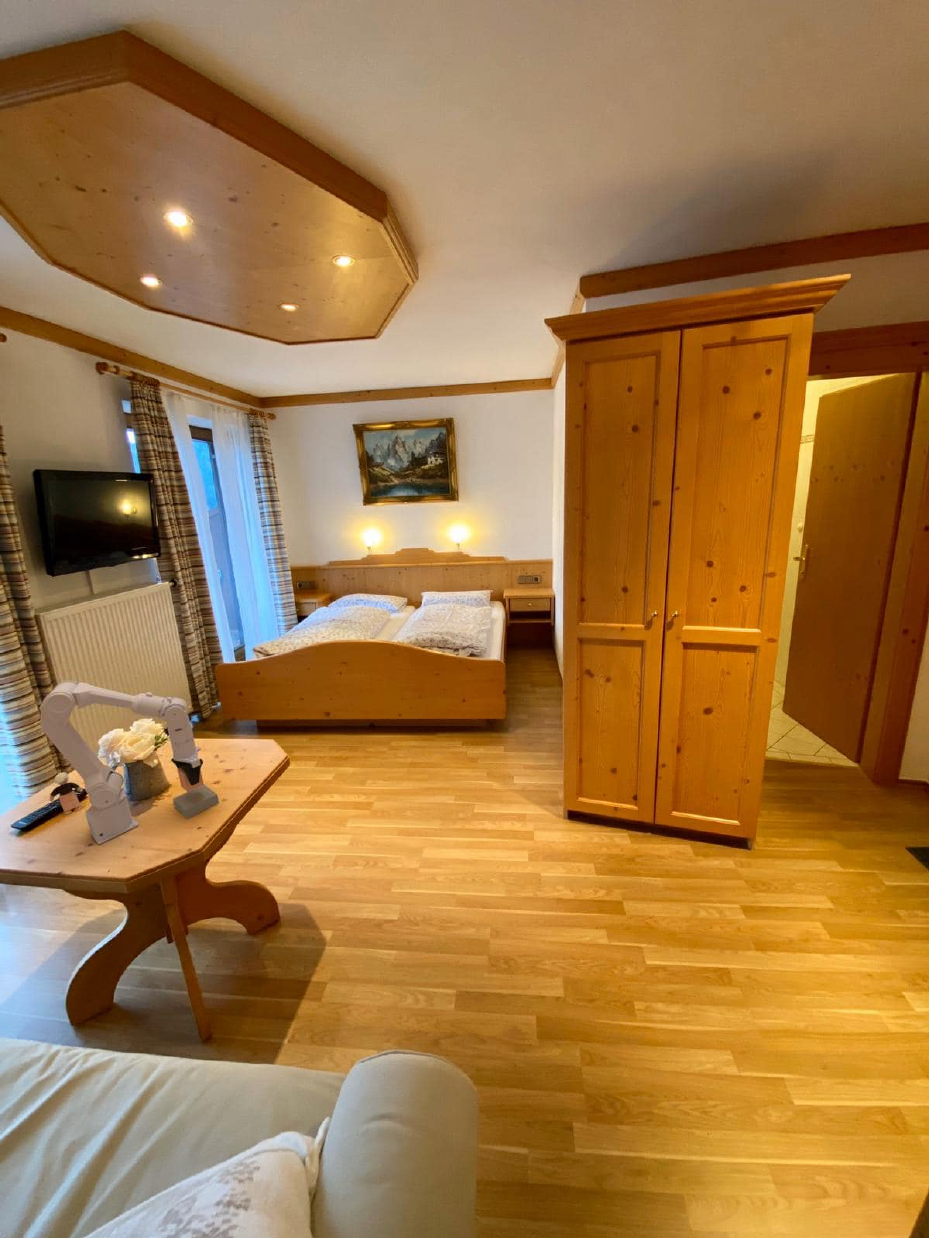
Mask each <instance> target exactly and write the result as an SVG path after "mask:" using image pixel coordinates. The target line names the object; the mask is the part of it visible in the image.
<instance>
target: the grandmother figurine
mask: <svg viewBox="0 0 929 1238" xmlns="http://www.w3.org/2000/svg"><path fill="white" fill-rule="evenodd" d="M53 781H54V784H57V786H56V787H55V788H54V789H52V791H51V793H50V794H49V795H50V796H49V802H53V801H54V800H55V797H56V796H58V795H59V801H60V804H61V807H62V809H63V813H64V815H70V814H71V813H72V812H73V810H74V812H78V811H80V810H81V809H82V808H83V806H84V805H83V804H81V803H80V801H79V798H78V796H77V793H76V792H75V790H77V791H78V792H79V793H82V792H83V791H84V789H83V788H82V787H81V786H80V785H79V784H78V783H74V782H72V781H71V782H69V775H68V773H67V772H66V771H64V772H59V773H58V774H57V775H55V777H54V780H53Z"/></svg>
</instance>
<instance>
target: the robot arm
mask: <svg viewBox="0 0 929 1238" xmlns="http://www.w3.org/2000/svg"><path fill="white" fill-rule="evenodd" d="M93 704H94V705H95V704H97V705H104V706H105V705H106V706H111V707H119V708H125V709H127V708H128V709H129V710H131V712H132V714H134V715H140V716H144V717H145V716H146V717H150V718H151V717H152V718H156V719H163V721H164V722H165V723H166V724H167V732H168V736H169V740H170V744H171V746H170V747H171V750H172V757H173V758H171V760H170V761H171V762H172V763H173V764H174V765H175V767H177V769H178V768H181V769H182V770H183V771H184V772H185V774H186V776H187V778H188V780H189V783H190V784H191V785H192V786H193V785H195V784H197V783H199V779H200V769H202V766H203V764H204V760H203V758H199V754H198V752H200V751H201V747H200V746H196V743H195V742H196V741H195V738H194V733H193V727H192V723H191V721H190V717H189V714H188V707H189V706H188V702H187V701H186V700H185V699H184V698H181V697H179V696H173V697H170V696H167V697H163V696H158V695H153V692H150V691H146V693H143V692H141V693H139V694H136V695H133V694H128V693H123V692H119V691H115V690H111V689H107V688H103V687H99V686H95V685H92V684H89V683H86V682H77V681H74V680H63V681H62V682H59V683H58V684H56V685H55V686H54V688H53V689H52V690H51V692H50V693H49V694H47V695H46V697H44V699H43V700H42V702H41V705H40V706H39V711H40V729H41V730H42V732H43V733H44V735H46V737H47V738H48V739H49V740H50V741H51V742H52V744H53V745H54V746H55V748H56V749H57V750H58V751H59V752H60V753H61V754H62V756H63V757H64V758H65V759H66V760H67V762H68V763H69V764H70V765H71V766H72V768H73V769H74V770H75V771H76V772H77V774H78V775H79V776H80V777H81V779H82V780H83V784H84V789H85V792H86V793H87V795H88V796H89V803H90V804H91V807H90V808H89V809H86V810H85V811H84V815H85V819H86V821H87V825H88V828H89V833H90V835H91V836H92V838H93V839H94V840H95V842H96V844H98V845H101V844H103V843H105V842H107V841H109V840H112V839H113V838H116V837H118V836H120V835H122V834H124V833H126V832H128V831H130V830H132V829H135V828H136V827H138V826H139V823H138V822H137V820H136V819H135V818H134V817H133V815H132V813H131V812H132V811H131V810H130V805H129V801H128V798H127V793H126V792H125V791H124V790H123V789H122V787H123V785H124V782H125V778H124V777H123V775H122V774H121V772H118V771H115V770H114V769H113V768H112V767H111V766H110V765H104V763H103V762H102V761H101V760H100V758H99V757H98V756H97V755H96V754H95V752H94V751H93V749H92V748H91V746H89V744H88V743H87V742H86V741H85V739H83V737H82V736H81V734H80V733H79V732H78V731H77V730H76V728H75V727H74V726H73V725H72V723H71V722H70V721H69V719H70V717H71V714H72V712H73V710H74V709H75V707H76V706H77V709H78V710H81V709H84V708H85V707H89V706H91V705H93Z"/></svg>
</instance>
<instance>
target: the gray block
mask: <svg viewBox="0 0 929 1238" xmlns="http://www.w3.org/2000/svg"><path fill="white" fill-rule="evenodd" d="M172 801H173V806H174V808H175V809H176V810H177V812H179V813H180V815H182V816H183V817H185V819H187V820H188V819H190V818H192V817H195V816H196V815H198V814H200V813H202V812H204V811H206V810H208V809H210V808H212V807H214V806H216V805H218V804H220V801H219V797H218V793H216V792H215V791H214V790H212V789H211V788H210V787H208V786H207V785H206V784H204V785H202V786H200V787H197V788H195V789H193V790H191V791H189V792H187V791H186V792H184V793H182V794H180V795H178V796H176V797H174V798H172Z"/></svg>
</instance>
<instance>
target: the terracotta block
mask: <svg viewBox="0 0 929 1238" xmlns="http://www.w3.org/2000/svg"><path fill="white" fill-rule="evenodd" d="M201 769H202V768H201ZM201 769H200V779H199V783H197V784H195V785H193V786H192V785H191V784H190V783H189V780H188V778H187V776H186V774H185V772H184V771H183V770H182V769H181V768H177V769H176V770H177V774H178V778H179V781H180V786H181V788H182V789H183V790H184V791H186V792H189V791H191V790H193V789H195V788H197V787H200V786H202V785H205V783H204V779H203V773H202V771H201Z"/></svg>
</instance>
